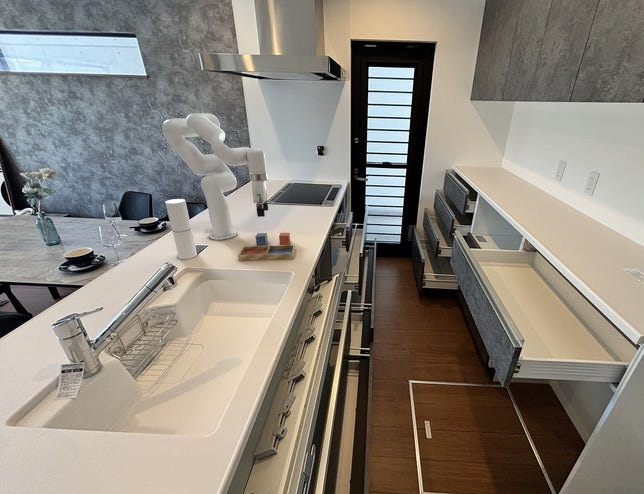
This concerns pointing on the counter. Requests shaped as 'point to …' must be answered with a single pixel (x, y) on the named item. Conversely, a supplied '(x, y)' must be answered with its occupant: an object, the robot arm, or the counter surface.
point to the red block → (284, 238)
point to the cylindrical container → (181, 228)
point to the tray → (267, 252)
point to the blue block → (261, 239)
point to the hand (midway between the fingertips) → (263, 213)
